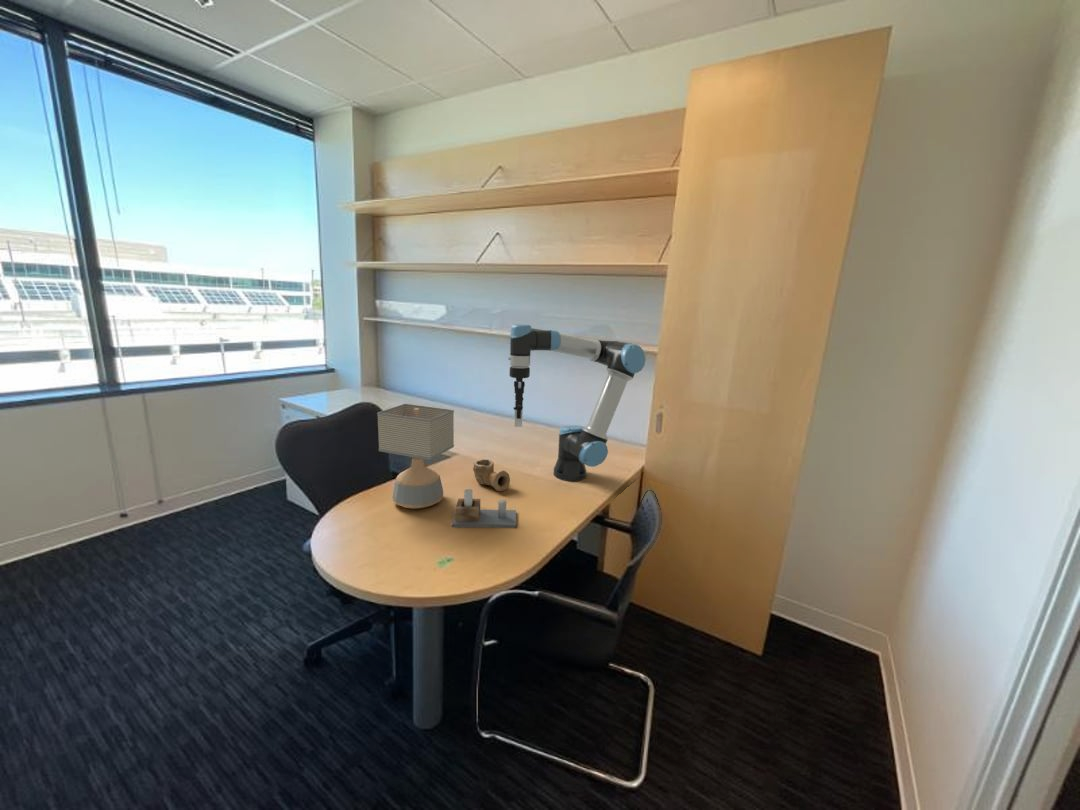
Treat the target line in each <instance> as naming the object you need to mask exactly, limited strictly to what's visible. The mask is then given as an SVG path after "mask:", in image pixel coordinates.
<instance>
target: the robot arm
mask: <svg viewBox="0 0 1080 810" xmlns="http://www.w3.org/2000/svg"><path fill="white" fill-rule="evenodd" d="M509 337H510V345H509V346H510V347H509V348H510V352H509V357H508V358H507V359H508V360H509V366H510V367H509V377H510V378H513V379H515V381H514V382H513V388H514V394H515V396H514V397H515V398H514V406H513V411H514V427H517V428H518V427H519V428H520V427H521V428H522V427H523V409H524V403H523V401H524V396H523V395H524V393H525V388H526V387H525V386H526V385H525V383H526V382H525V381H524V379H528V378H529V377H530V376H531V375H530V374H531V372H530V369H531V368H530V366H531V352H532V351H549V352H555V353H560V354H566V355H570V356H576V357H581V358H587V359H589V361H591V362H595V363H599V364H602V365H603V366H606V371H607V377H606V380H605V382H604V385H603V387H602V389H601V390H600V394H599V397H598V399H597V401H596V403H595V405H594V409H593V411H592V414H591V415H590V418H589V420H588V424H587V426H583V425H575V424H574V425H573V424H572V425H564V426H562V427H560V428H559V434H558V453H557V455H558V456H557V459H556V462H555V465H554V467H553V472H552V473H553V476H554V477H555V478H557V479H559V480H563V481H573V482H574V481H575V482H576V481H583V480H584V479H585V478H586V477H587V468H586V466H588V467H593V468H594V467H597V466H599V465H601V464H602V463H604V461H605V460H606V459H607V457H608V454H609V450H608V446H607V442H608V440H609V439H608V436H607V433H608V431H609V427H610V426H611V423H612V420H613V418H614V416H615V412H616V411H617V408H618V406H619V403H620V401H621V399H622V396H623V394H624V391H625V389H626V386H627V384H628V382H629V381H631V380H633V379H634V376H635V375H636V374H638V373H640V372H641V371H642V370H643V368H644V367H645V365H646V354H645V351H644V349H643V348H642V347H641V346H640V345H638V344H635V343H632V342H622V341H619V340H618V341H617V340H602V339H593V340H589V339H584V338H578V337H574V336H571V335H566V334H565V335H564V334H561V333H560V332H559V331H557V330H551V329H550V330H549V329H538V328H533V327H532V326H531V325H529V324H520V323H519V324H515V323H514V324H512V325H511V327H510V336H509Z"/></svg>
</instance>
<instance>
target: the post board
mask: <svg viewBox="0 0 1080 810" xmlns="http://www.w3.org/2000/svg"><path fill="white" fill-rule="evenodd" d="M463 499H464V507H472V499H473V489H471V488H466V489H464V496H463ZM497 504H498V505H497V507H498V508H497V509H480V517H479V522H455V514H454V515H453V519H452V523H451V527H452V528H454V527H455V528H517V510H516V509H507V500H505V499H499V500H498V503H497Z"/></svg>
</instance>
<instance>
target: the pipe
mask: <svg viewBox="0 0 1080 810" xmlns="http://www.w3.org/2000/svg"><path fill="white" fill-rule="evenodd" d="M494 464H495V463H494V461H493V460H492V459H484V458H483V459H481V460H477V461H474V462H473V467H472V469H473V471H472V472H473V473H474V478H475V480H476V482H477V483H478V484H480V485H484V486H490V487H493V489H495V491H497V492H503V491H506V490H507V489H508V488H509V486H510V484H511V483H510V482H511V481H510V480H511V479H510V475H509V473H508V472H507V471H505V470H501V471H498V472H496V471H494V470H495V469H494V468H495V465H494Z"/></svg>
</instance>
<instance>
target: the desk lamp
mask: <svg viewBox="0 0 1080 810" xmlns="http://www.w3.org/2000/svg"><path fill="white" fill-rule="evenodd" d="M454 411H455V410H454V409H450V408H449V409H447V408H440V407H434V406H432V407H431V406H424V405H417V404H410V403H402V404H400V405H397V406H393V407H390V408H388V409H384V410H381V411H378V412H377V413H376V414H377V415H376V416H377V428H378V429H377V431H378V432H377V433H378V452H380V453H381V452H383V453H387V454H393V455H397V456H398V455H399V456H404V457H405V456H406V457H411V458H412V459H411V465H410V467H409V468H406V469H405V470H403V471H402V472H400V473H399V474H398V475H397V476H396V477H395V482H394V486H393V492H392V502H393V503H395V505H397V506H401V507H402V508H406V509H410V510H411V509H412V510H413V509H414V510H418V509H419V510H420V509H425V508H428V507H431V506H433V505H435V504H437V503H439V502H440V501H441V500H442V499H443V498H444V488H443V483H442V480H441V476H440V474H439V472H437V471H436V470H433V469H432V468H429V467H427V466H425V463H424V462H425V461H424V460H426V461H427V460H428V461H431V460H434V459H435V458H437V457H439V456H440V455H442V454H444V453H446V452H448V451H449V450H451V449H453V448H454V447H455V445H454V443H455V442H454V438H455V436H454V432H455V431H454V430H455V429H454V426H455V425H454V423H455V422H454V420H455V419H454Z"/></svg>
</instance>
